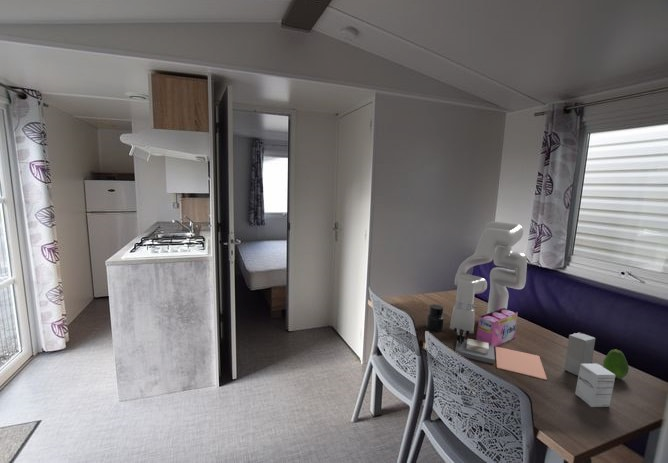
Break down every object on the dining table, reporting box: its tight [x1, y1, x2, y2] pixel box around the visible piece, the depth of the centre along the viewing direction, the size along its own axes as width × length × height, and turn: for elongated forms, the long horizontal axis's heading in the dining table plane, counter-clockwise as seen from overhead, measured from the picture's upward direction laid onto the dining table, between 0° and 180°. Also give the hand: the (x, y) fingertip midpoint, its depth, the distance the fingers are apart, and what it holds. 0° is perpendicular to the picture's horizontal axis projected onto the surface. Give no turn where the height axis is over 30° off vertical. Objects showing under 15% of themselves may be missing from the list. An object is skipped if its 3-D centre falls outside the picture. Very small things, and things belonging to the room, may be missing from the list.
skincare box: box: [564, 332, 596, 377], centre depth 137 cm, size 8×7×16 cm
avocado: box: [602, 348, 629, 379], centre depth 134 cm, size 8×8×12 cm
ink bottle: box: [425, 303, 445, 332], centre depth 173 cm, size 10×9×12 cm
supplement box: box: [574, 362, 616, 408], centre depth 119 cm, size 7×7×13 cm
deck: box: [455, 338, 496, 365], centre depth 151 cm, size 14×16×2 cm
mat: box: [494, 346, 548, 381], centre depth 144 cm, size 20×18×1 cm
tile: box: [466, 338, 489, 354], centre depth 150 cm, size 9×6×2 cm, turn 66°
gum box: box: [475, 308, 518, 348], centre depth 163 cm, size 24×8×14 cm, turn 124°
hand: (460, 342), depth 153 cm, fingers closed
